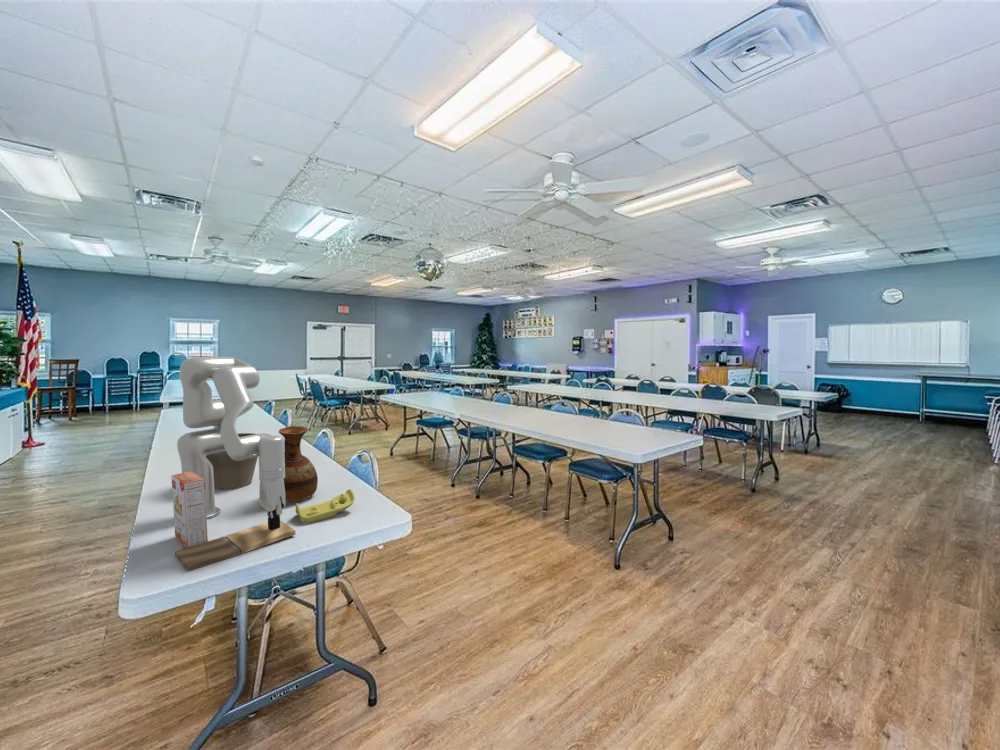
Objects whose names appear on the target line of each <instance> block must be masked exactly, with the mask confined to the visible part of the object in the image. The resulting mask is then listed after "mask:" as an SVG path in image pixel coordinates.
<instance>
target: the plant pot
mask: <svg viewBox="0 0 1000 750" xmlns="http://www.w3.org/2000/svg"><path fill="white" fill-rule="evenodd" d="M237 434H238V436H239V437H243V436H248V435H254V434H256V433H252V432H249V433H248V432H241V433H239V432H237ZM206 458H207V459H208V460H209V461H210V462H211V464H212V465H213V470H214V490H215V489H216V490H217V491H218V490H219V491H220V490H221V491H224V490H225V491H226V490H237V489H240V488H244V487H246V486H249V485H250V484H252V482H253V478H254V474H255V469H256V467H257V466H256V465H257V462H258V459H259V456H258V457H254V458H249V459H245V460H241V461H236V460H233V459H231V458H230V457H229V455H228V454H227V452H226V451H224V452H220V453H215V454H211V455H207V456H206Z"/></svg>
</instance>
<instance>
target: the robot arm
mask: <svg viewBox="0 0 1000 750" xmlns="http://www.w3.org/2000/svg"><path fill="white" fill-rule="evenodd" d="M178 373H179V379H180V383H181V387H182V392H183V393H182V394H183V395H182V396H183V397H182V421H183V424H184V426H185V427H187V428H189V429H201V428H208V427H213V428H208V429H201V430H195V431H190V432H186V433H184V434H183V435H181V436H180V437H179V438H178V439H177V442H176V447H177V451H178V452H177V453H178V455H179V460H180V466H181V473H187V472H193V473H194V474H196V475H197V476H199V477H201V478H202V479H204V480H205V499H206V519H207V520H209V519H211V518H214V517H217V516H218V515H219V514H220V513H221V508H219V507H217V506H216V499H215V498H216V496H215V494H216V493H215V488H214V470H213V465H212V464H211V462H210V461H209V460H208V459H207V458H206V456H207V455H211V454H215V453H220V452H224V451H226V452H227V454H228V455H229V457H230V458H231V459H233V460H236V461H241V460H245V459H249V458H254V457H258V477H259V492H258V493H259V494H258V495H259V506H260V507H261V508H263V509H264V510H266V513H267V522H268V529H270V530H274V529H277V528H280V521H281V514H283V509H285V507H286V503H287V501H286V499H285V487H284V479H283V478H285V455H284V452H285V449H284V448H285V447H284V440H285V438H284V437H283V436H282V435H272V434H270V433H267V432H262V433H261V432H260V433H255V434H254V435H248V436H243V437H239V436H238V434H237V433H238V432H237V429H236V421H237V419H238V418H239V417H241V416H243V415H244V414H247V413H248V412H250V411H251V410H252V409H253V407H254V401H253V398H252V396H251V394H250V392H249V389H250V390H251V389H255V388H257V387H258V385H259V384H260V374H259V372H258V371H257V369H256V368H255V367H254V366H252V364H249V363H248V362H245V361H243V360H241V359H239V358H237V357H233V356H198V357H197V356H196V357H195V356H194V357H191V358H190V357H189V358H186V359H185V360H184V361H183V362H182V363H181V364H180V366H179V371H178ZM207 381H213V383H214V386H215V389H216V391H217V394H218V396H219V398H220V399H214V400H213V398H212V397H213V396H212V395H213V390H212V388H211V386H210V385H209V383H208V382H207Z"/></svg>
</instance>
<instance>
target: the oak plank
mask: <svg viewBox="0 0 1000 750" xmlns="http://www.w3.org/2000/svg"><path fill="white" fill-rule="evenodd" d="M294 535H296V529H294V528H293V527H291V526H290V525H288V524H286V523H284V522H283V521H282V520H280V528H277V529H274V530H270V529H268V521H267V522H265V523H261V524H258V525H255V526H252V527H249V528H246V529H243V530H239V531H236V532H234V533H231V534H228V535H225V537H226V538H227V539H228V540H229V541H231V542H232V543H233V544H234V545H235V546H236V547H238V548H239V549H240V555H241V554H245V553H247V552H250V551H253V550H255V549H258V548H262V547H264V546H267V545H269V544H274V543H275V542H278V541H281V540H283V539H287V538H289V537H291V536H292V537H293V536H294Z"/></svg>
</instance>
